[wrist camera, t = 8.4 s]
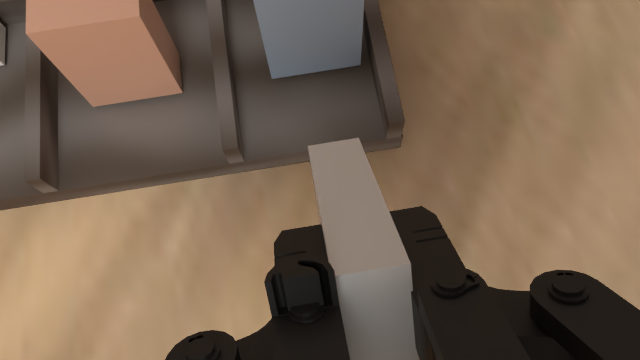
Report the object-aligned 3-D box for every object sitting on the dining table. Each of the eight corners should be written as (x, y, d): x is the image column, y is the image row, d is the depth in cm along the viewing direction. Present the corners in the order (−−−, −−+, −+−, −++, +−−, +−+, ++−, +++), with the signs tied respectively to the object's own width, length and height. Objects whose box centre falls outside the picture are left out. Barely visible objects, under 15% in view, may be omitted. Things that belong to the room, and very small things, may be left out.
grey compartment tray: (400, 147, 32) (406, 120, 29) (-98, 225, 32) (-149, 208, 29) (362, -28, 36) (364, -69, 33) (-82, 40, 36) (-125, 6, 33)
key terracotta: (182, 92, 32) (139, 16, 25) (93, 106, 32) (25, 33, 25) (179, 54, 33) (136, -31, 26) (92, 67, 33) (26, -14, 26)
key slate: (360, 65, 32) (365, -19, 25) (271, 79, 32) (252, -2, 25) (352, 27, 33) (355, -64, 26) (266, 40, 33) (246, -48, 26)
